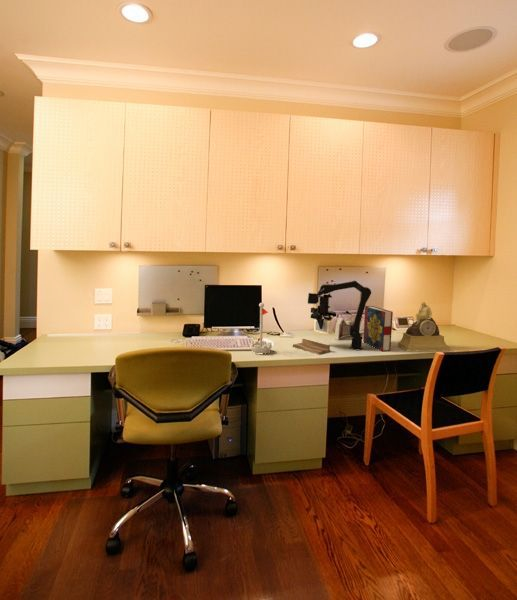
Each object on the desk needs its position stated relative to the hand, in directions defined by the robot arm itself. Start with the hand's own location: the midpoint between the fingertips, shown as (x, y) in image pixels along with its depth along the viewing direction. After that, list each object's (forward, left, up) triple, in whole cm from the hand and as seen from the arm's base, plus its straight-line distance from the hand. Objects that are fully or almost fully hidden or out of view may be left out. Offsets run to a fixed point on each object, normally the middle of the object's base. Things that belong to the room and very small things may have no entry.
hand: (323, 328), depth 250 cm
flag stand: (+40, -14, -12) cm, 44 cm away
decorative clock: (-50, +41, -12) cm, 66 cm away
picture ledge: (+11, 0, -12) cm, 16 cm away
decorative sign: (-34, -9, -12) cm, 37 cm away
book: (-29, +20, -12) cm, 37 cm away
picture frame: (0, 0, -2) cm, 3 cm away
